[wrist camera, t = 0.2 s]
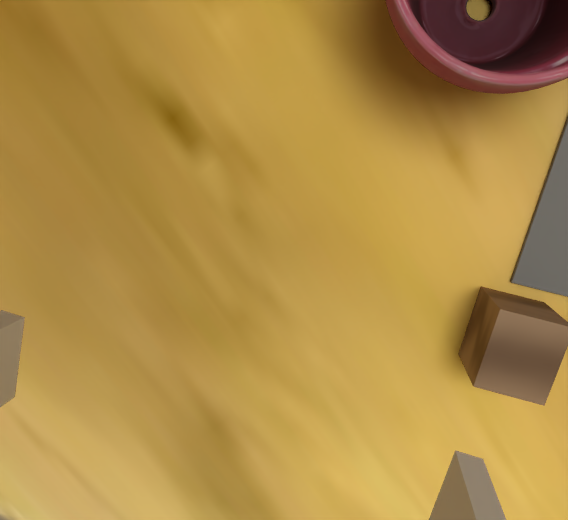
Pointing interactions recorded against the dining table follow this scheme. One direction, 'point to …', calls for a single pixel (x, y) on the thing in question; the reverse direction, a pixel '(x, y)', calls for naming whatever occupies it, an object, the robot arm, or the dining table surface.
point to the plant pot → (487, 42)
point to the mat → (548, 231)
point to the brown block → (513, 345)
